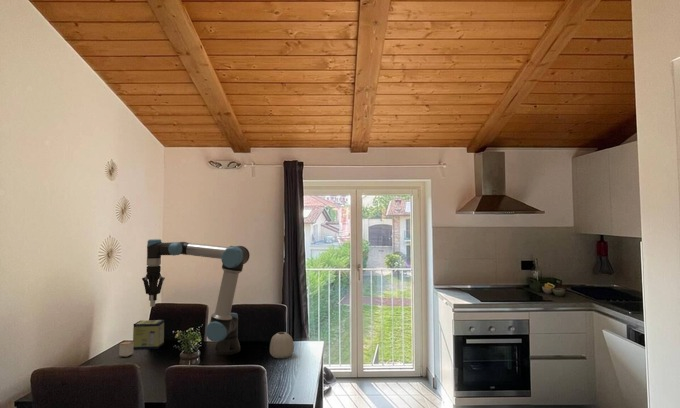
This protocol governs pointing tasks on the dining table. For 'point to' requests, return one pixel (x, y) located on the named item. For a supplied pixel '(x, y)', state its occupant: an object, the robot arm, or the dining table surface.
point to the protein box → (148, 334)
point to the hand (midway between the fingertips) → (152, 306)
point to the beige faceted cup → (126, 348)
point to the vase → (281, 345)
